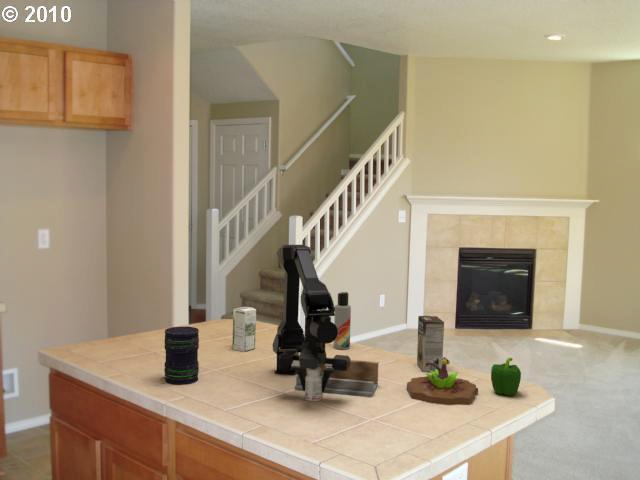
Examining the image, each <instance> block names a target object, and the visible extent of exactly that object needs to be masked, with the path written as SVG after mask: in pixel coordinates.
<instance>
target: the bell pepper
mask: <svg viewBox="0 0 640 480" xmlns="http://www.w3.org/2000/svg"><path fill="white" fill-rule="evenodd" d="M513 360H514V359H513V358H512V357H509V358H507V359H506V361H505V363H501V364H496V363H495V364H493V365H492V367H491V371H490V380H491V386H492V389H493V391H494V393H496V394H498V395H506V396H509V397H511V396H516V394H517V393H518V390H519V387H520V384H521V381H522V380H521V379H522V372H521V368H519V367H518V366H517V364H511V365H510V363H511V362H512V361H513Z"/></svg>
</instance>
